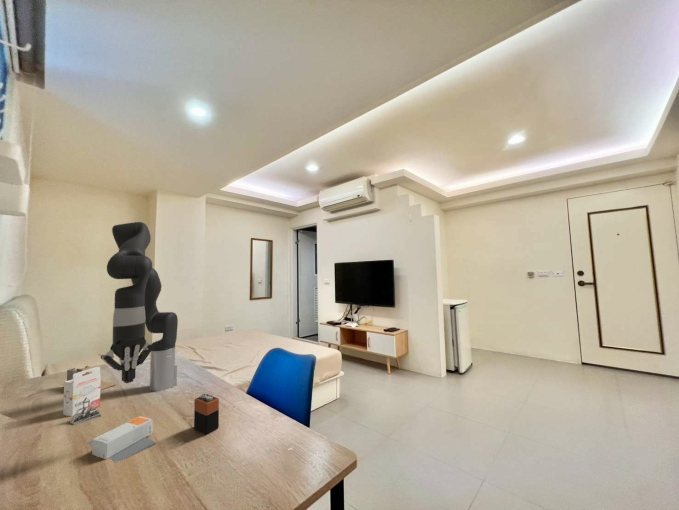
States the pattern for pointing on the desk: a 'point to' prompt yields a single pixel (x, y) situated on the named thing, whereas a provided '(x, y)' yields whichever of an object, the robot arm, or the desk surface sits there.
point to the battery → (206, 413)
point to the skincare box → (121, 437)
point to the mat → (131, 449)
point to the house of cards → (87, 414)
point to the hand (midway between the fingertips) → (128, 382)
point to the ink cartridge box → (82, 391)
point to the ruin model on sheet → (72, 371)
